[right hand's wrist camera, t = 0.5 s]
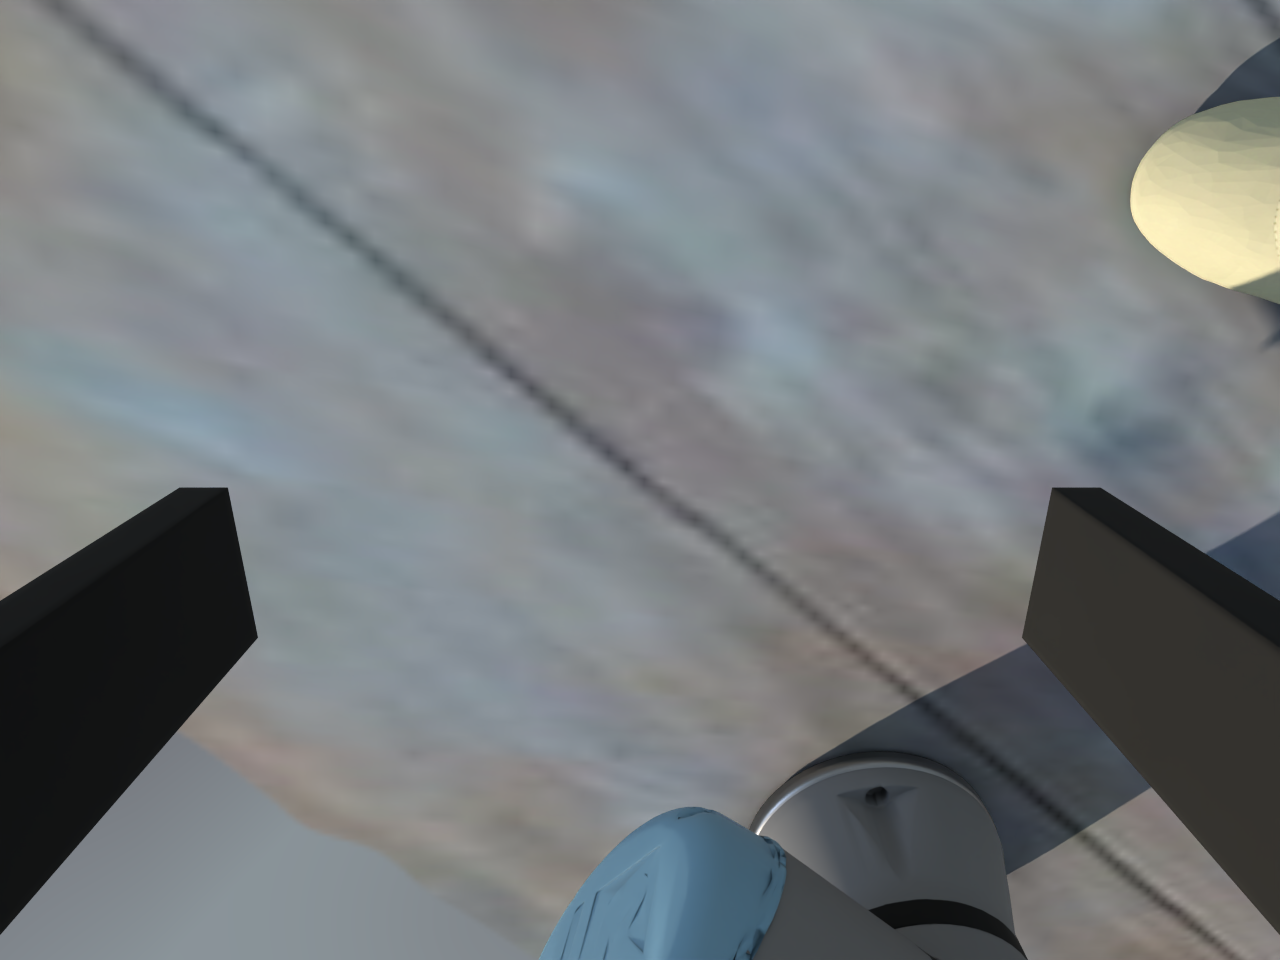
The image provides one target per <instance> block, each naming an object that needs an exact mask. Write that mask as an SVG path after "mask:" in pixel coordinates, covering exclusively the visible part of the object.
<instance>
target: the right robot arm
mask: <svg viewBox="0 0 1280 960" xmlns="http://www.w3.org/2000/svg"><path fill="white" fill-rule="evenodd" d="M257 638H258V636H257V631H256V626H255V621H254V616H253V611H252V606H251V601H250V596H249V591H248V586H247V581H246V576H245V571H244V566H243V561H242V556H241V551H240V546H239V541H238V536H237V531H236V526H235V521H234V516H233V511H232V506H231V501H230V496H229V492H228V488H178V489H177V490H175V491H174V492H172V493H170V494H169V495H167V496H166V497H164V498H162V499H161V500H159V501H158V502H156V503H155V504H153V505H151V506H150V507H148V508H147V509H145V510H143V511H142V512H140V513H139V514H137V515H136V516H134V517H132V518H131V519H129V520H128V521H126V522H124V523H123V524H121V525H120V526H118V527H117V528H115V529H113V530H112V531H110V532H109V533H107V534H105V535H104V536H102V537H101V538H99V539H98V540H96V541H94V542H93V543H91V544H90V545H88V546H86V547H85V548H83V549H82V550H80V551H79V552H77V553H75V554H74V555H72V556H71V557H69V558H67V559H66V560H64V561H63V562H61V563H60V564H58V565H56V566H55V567H53V568H52V569H50V570H48V571H47V572H45V573H44V574H42V575H41V576H39V577H37V578H36V579H34V580H33V581H31V582H29V583H28V584H26V585H25V586H23V587H22V588H20V589H18V590H17V591H15V592H14V593H12V594H10V595H9V596H7V597H6V598H4V599H3V600H1V601H0V934H1V933H2V932H3V931H4V930H5V929H6V928H7V926H8V925H9V924H10V923H11V922H12V921H13V919H14V918H15V917H16V916H17V915H18V914H19V913H20V911H21V910H22V909H23V908H24V907H25V906H26V904H27V903H28V902H29V901H30V900H31V899H32V898H33V896H34V895H35V894H36V893H37V892H38V891H39V889H40V888H41V887H42V886H43V885H44V884H45V883H46V881H47V880H48V879H49V878H50V877H51V876H52V874H53V873H54V872H55V871H56V870H57V869H58V868H59V866H60V865H61V864H62V863H63V862H64V861H65V860H66V858H67V857H68V856H69V855H70V854H71V853H72V851H73V850H74V849H75V848H76V847H77V846H78V845H79V843H80V842H81V841H82V840H83V839H84V838H85V836H86V835H87V834H88V833H89V832H90V831H91V830H92V828H93V827H94V826H95V825H96V824H97V823H98V821H99V820H100V819H101V818H102V817H103V816H104V815H105V813H106V812H107V811H108V810H109V809H110V808H111V806H112V805H113V804H114V803H115V802H116V801H117V799H118V798H119V797H120V796H121V795H122V794H123V793H124V791H125V790H126V789H127V788H128V787H129V786H130V785H131V783H132V782H133V781H134V780H135V779H136V778H137V776H138V775H139V774H140V773H141V772H142V771H143V770H144V768H145V767H146V766H147V765H148V764H149V763H150V761H151V760H152V759H153V758H154V757H155V756H156V754H157V753H158V752H159V751H160V750H161V749H162V748H163V746H164V745H165V744H166V743H167V742H168V741H169V740H170V738H171V737H172V736H173V735H174V734H175V733H176V731H177V730H178V729H179V728H180V727H181V726H182V725H183V723H184V722H185V721H186V720H187V719H188V718H189V716H190V715H191V714H192V713H193V712H194V711H195V710H196V708H197V707H198V706H199V705H200V704H201V703H202V701H203V700H204V699H205V698H206V697H207V696H208V695H209V693H210V692H211V691H212V690H213V689H214V688H215V686H216V685H217V684H218V683H219V682H220V681H221V680H222V678H223V677H224V676H225V675H226V674H227V673H228V672H229V670H230V669H231V668H232V667H233V666H234V665H235V663H236V662H237V661H238V660H239V659H240V658H241V657H242V655H243V654H244V653H245V652H246V651H247V650H248V648H249V647H250V646H251V645H252V644H253V643H254V642H255V640H256V639H257ZM1022 638H1023V639H1024V640H1025V642H1026V643H1027V644H1028V645H1029V646H1030V647H1031V648H1032V650H1033V651H1034V652H1035V653H1036V654H1037V655H1038V657H1039V658H1040V659H1041V660H1042V661H1043V662H1044V663H1045V665H1046V666H1047V667H1048V668H1049V669H1050V670H1051V672H1052V673H1053V674H1054V675H1055V676H1056V677H1057V678H1058V680H1059V681H1060V682H1061V683H1062V684H1063V685H1064V686H1065V688H1066V689H1067V690H1068V691H1069V692H1070V693H1071V695H1072V696H1073V697H1074V698H1075V699H1076V700H1077V701H1078V703H1079V704H1080V705H1081V706H1082V707H1083V708H1084V710H1085V711H1086V712H1087V713H1088V714H1089V715H1090V716H1091V718H1092V719H1093V720H1094V721H1095V722H1096V723H1097V725H1098V726H1099V727H1100V728H1101V729H1102V730H1103V731H1104V733H1105V734H1106V735H1107V736H1108V737H1109V738H1110V740H1111V741H1112V742H1113V743H1114V744H1115V745H1116V746H1117V748H1118V749H1119V750H1120V751H1121V752H1122V753H1123V755H1124V756H1125V757H1126V758H1127V759H1128V760H1129V761H1130V763H1131V764H1132V765H1133V766H1134V767H1135V768H1136V770H1137V771H1138V772H1139V773H1140V774H1141V775H1142V776H1143V778H1144V779H1145V780H1146V781H1147V782H1148V783H1149V785H1150V786H1151V787H1152V788H1153V789H1154V790H1155V791H1156V793H1157V794H1158V795H1159V796H1160V797H1161V798H1162V800H1163V801H1164V802H1165V803H1166V804H1167V805H1168V806H1169V808H1170V809H1171V810H1172V811H1173V812H1174V813H1175V815H1176V816H1177V817H1178V818H1179V819H1180V820H1181V821H1182V823H1183V824H1184V825H1185V826H1186V827H1187V828H1188V830H1189V831H1190V832H1191V833H1192V834H1193V835H1194V836H1195V838H1196V839H1197V840H1198V841H1199V842H1200V843H1201V845H1202V846H1203V847H1204V848H1205V849H1206V850H1207V851H1208V853H1209V854H1210V855H1211V856H1212V857H1213V858H1214V860H1215V861H1216V862H1217V863H1218V864H1219V865H1220V866H1221V868H1222V869H1223V870H1224V871H1225V872H1226V873H1227V874H1228V876H1229V877H1230V878H1231V879H1232V880H1233V881H1234V883H1235V884H1236V885H1237V886H1238V887H1239V888H1240V889H1241V891H1242V892H1243V893H1244V894H1245V895H1246V896H1247V898H1248V899H1249V900H1250V901H1251V902H1252V903H1253V904H1254V906H1255V907H1256V908H1257V909H1258V910H1259V911H1260V913H1261V914H1262V915H1263V916H1264V917H1265V918H1266V919H1267V921H1268V922H1269V923H1270V924H1271V925H1272V926H1273V928H1274V929H1275V930H1276V931H1277V932H1278V933H1279V934H1280V601H1279V600H1277V599H1276V598H1274V597H1273V596H1271V595H1270V594H1268V593H1266V592H1265V591H1263V590H1262V589H1260V588H1258V587H1257V586H1255V585H1254V584H1252V583H1251V582H1249V581H1247V580H1246V579H1244V578H1243V577H1241V576H1239V575H1238V574H1236V573H1235V572H1233V571H1232V570H1230V569H1228V568H1227V567H1225V566H1224V565H1222V564H1220V563H1219V562H1217V561H1216V560H1214V559H1213V558H1211V557H1209V556H1208V555H1206V554H1205V553H1203V552H1201V551H1200V550H1198V549H1197V548H1195V547H1194V546H1192V545H1190V544H1189V543H1187V542H1186V541H1184V540H1182V539H1181V538H1179V537H1178V536H1176V535H1175V534H1173V533H1171V532H1170V531H1168V530H1167V529H1165V528H1163V527H1162V526H1160V525H1159V524H1157V523H1156V522H1154V521H1152V520H1151V519H1149V518H1148V517H1146V516H1144V515H1143V514H1141V513H1140V512H1138V511H1137V510H1135V509H1133V508H1132V507H1130V506H1129V505H1127V504H1125V503H1124V502H1122V501H1121V500H1119V499H1118V498H1116V497H1114V496H1113V495H1111V494H1110V493H1108V492H1106V491H1105V490H1103V489H1102V488H1052V492H1051V496H1050V501H1049V506H1048V511H1047V516H1046V521H1045V526H1044V531H1043V536H1042V541H1041V546H1040V551H1039V556H1038V561H1037V566H1036V571H1035V576H1034V581H1033V586H1032V591H1031V596H1030V601H1029V606H1028V611H1027V616H1026V621H1025V626H1024V631H1023V636H1022Z"/></svg>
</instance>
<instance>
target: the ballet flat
mask: <svg viewBox="0 0 1280 960" xmlns="http://www.w3.org/2000/svg"><path fill="white" fill-rule="evenodd" d="M1130 203H1131V212H1132V216H1133V218H1134V221H1135V223H1136V225H1137V226H1138V228H1139V230H1140V231H1141V233H1142V234H1143V235H1144V236H1145V237H1146V238H1147V240H1148V241H1149V242H1150V243H1151V244H1152V245H1153V246H1154V247H1155V248H1156V249H1157V250H1159V251H1160V252H1161V253H1162V254H1164V255H1165V256H1166V257H1168V258H1169V259H1170V260H1172V261H1173V262H1175V263H1176V264H1178V265H1179V266H1181V267H1182V268H1184V269H1186V270H1187V271H1189V272H1191V273H1192V274H1194V275H1196V276H1198V277H1200V278H1202V279H1204V280H1207V281H1210V282H1213V283H1215V284H1218V285H1221V286H1223V287H1226V288H1229V289H1231V290H1235V291H1239V292H1242V293H1246V294H1250V295H1253V296H1256V297H1259V298H1263V299H1266V300H1269V301H1271V302H1274V303H1277V304H1280V97H1269V98H1260V99H1251V100H1242V101H1236V102H1232V103H1228V104H1223V105H1220V106H1217V107H1214V108H1211V109H1208V110H1205V111H1202V112H1199V113H1196V114H1193V115H1191V116H1189V117H1187V118H1185V119H1183V120H1181V121H1180V122H1178V123H1177V124H1175V125H1174V126H1172V127H1171V128H1170V129H1169V130H1167V131H1166V132H1165V133H1164V134H1163V135H1162V136H1161V137H1160V138H1159V139H1158V140H1157V141H1156V142H1155V143H1154V144H1153V146H1152V147H1151V148H1150V149H1149V151H1148V152H1147V153H1146V155H1145V156H1144V157H1143V159H1142V160H1141V162H1140V164H1139V166H1138V168H1137V170H1136V173H1135V175H1134V179H1133V182H1132V188H1131V199H1130Z"/></svg>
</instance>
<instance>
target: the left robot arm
mask: <svg viewBox="0 0 1280 960" xmlns="http://www.w3.org/2000/svg"><path fill="white" fill-rule="evenodd" d="M539 960H1028V959H1027V957H1026V955H1025V953H1024V951H1023V949H1022V947H1021V945H1020V943H1019V941H1018V939H1017V937H1016V935H1015V931H1014V923H1013V916H1012V908H1011V901H1010V895H1009V888H1008V882H1007V876H1006V870H1005V861H1004V854H1003V848H1002V844H1001V841H1000V838H999V836H998V833H997V830H996V827H995V825H994V822H993V820H992V818H991V816H990V815H989V813H988V811H987V809H986V807H985V806H984V804H983V802H982V800H981V799H980V797H979V796H978V794H977V793H976V792H975V790H974V789H973V788H972V787H971V786H970V785H969V784H968V783H967V782H966V781H965V780H964V779H963V778H962V777H960V776H959V775H958V774H956V773H955V772H953V771H952V770H950V769H948V768H947V767H945V766H943V765H941V764H939V763H936V762H934V761H931V760H929V759H926V758H922V757H919V756H915V755H910V754H905V753H896V752H864V753H857V754H850V755H846V756H841V757H837V758H834V759H831V760H827V761H825V762H822V763H820V764H817V765H815V766H813V767H811V768H808V769H806V770H804V771H803V772H801V773H799V774H798V775H796V776H794V777H793V778H791V779H790V780H788V781H787V782H786V783H784V784H783V785H782V786H781V787H780V788H778V789H777V790H776V791H775V792H774V793H773V794H772V795H771V796H770V797H769V798H768V799H767V801H766V802H765V803H764V804H763V806H762V807H761V808H760V810H759V811H758V813H757V815H756V816H755V818H754V820H753V822H752V824H751V827H750V829H749V830H748V829H747V828H745V827H743V826H741V825H740V824H738V823H736V822H735V821H733V820H731V819H729V818H728V817H726V816H724V815H723V814H721V813H719V812H716V811H714V810H708V809H705V808H701V807H684V808H678V809H675V810H671V811H668V812H666V813H663V814H661V815H659V816H656V817H654V818H653V819H651V820H649V821H648V822H646V823H645V824H643V825H642V826H640V827H639V828H637V829H636V830H635V831H633V832H632V833H631V834H629V835H628V836H627V837H626V838H625V839H624V840H623V841H621V842H620V843H619V844H618V845H617V846H616V847H615V848H614V849H613V850H612V851H611V852H610V853H609V854H608V855H607V856H606V857H605V858H604V860H603V861H602V862H601V863H600V864H599V865H598V866H597V868H596V869H595V870H594V871H593V872H592V874H591V875H590V876H589V877H588V879H587V880H586V881H585V883H584V884H583V886H582V887H581V888H580V890H579V891H578V892H577V894H576V896H575V898H574V899H573V901H572V902H571V903H570V904H569V906H568V907H567V909H566V910H565V912H564V914H563V915H562V917H561V918H560V920H559V922H558V924H557V925H556V927H555V929H554V931H553V932H552V934H551V936H550V938H549V940H548V942H547V944H546V946H545V948H544V950H543V952H542V954H541V956H540V958H539Z"/></svg>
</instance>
